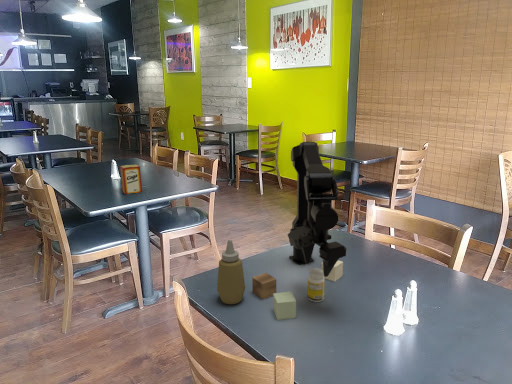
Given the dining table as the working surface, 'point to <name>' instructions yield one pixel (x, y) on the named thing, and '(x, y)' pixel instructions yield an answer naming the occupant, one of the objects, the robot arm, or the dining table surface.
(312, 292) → the supplement bottle
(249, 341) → the dining table surface
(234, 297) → the squeeze bottle
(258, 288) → the walnut block
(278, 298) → the sage block
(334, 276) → the cream block
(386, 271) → the dining table surface
